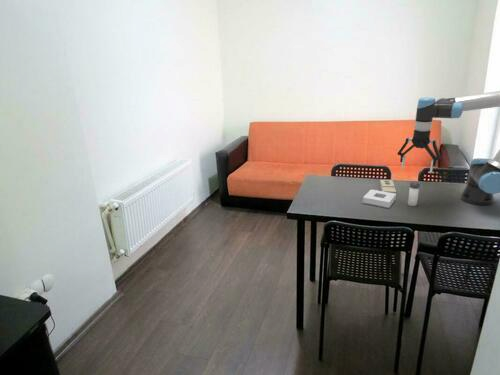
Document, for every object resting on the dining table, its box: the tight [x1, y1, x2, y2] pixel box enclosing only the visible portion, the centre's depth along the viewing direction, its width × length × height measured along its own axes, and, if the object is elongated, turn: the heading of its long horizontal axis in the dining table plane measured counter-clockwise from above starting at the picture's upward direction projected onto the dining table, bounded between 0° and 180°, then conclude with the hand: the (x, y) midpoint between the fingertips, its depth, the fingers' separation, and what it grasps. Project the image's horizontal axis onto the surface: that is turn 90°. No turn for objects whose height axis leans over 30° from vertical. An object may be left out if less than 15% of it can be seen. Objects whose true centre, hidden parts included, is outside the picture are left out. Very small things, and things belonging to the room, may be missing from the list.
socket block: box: [362, 189, 397, 209], centre depth 193 cm, size 14×14×4 cm
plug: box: [407, 181, 421, 207], centre depth 186 cm, size 5×5×12 cm
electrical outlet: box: [379, 179, 397, 195], centre depth 208 cm, size 7×4×18 cm
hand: (416, 170), depth 182 cm, fingers open, 13 cm apart
